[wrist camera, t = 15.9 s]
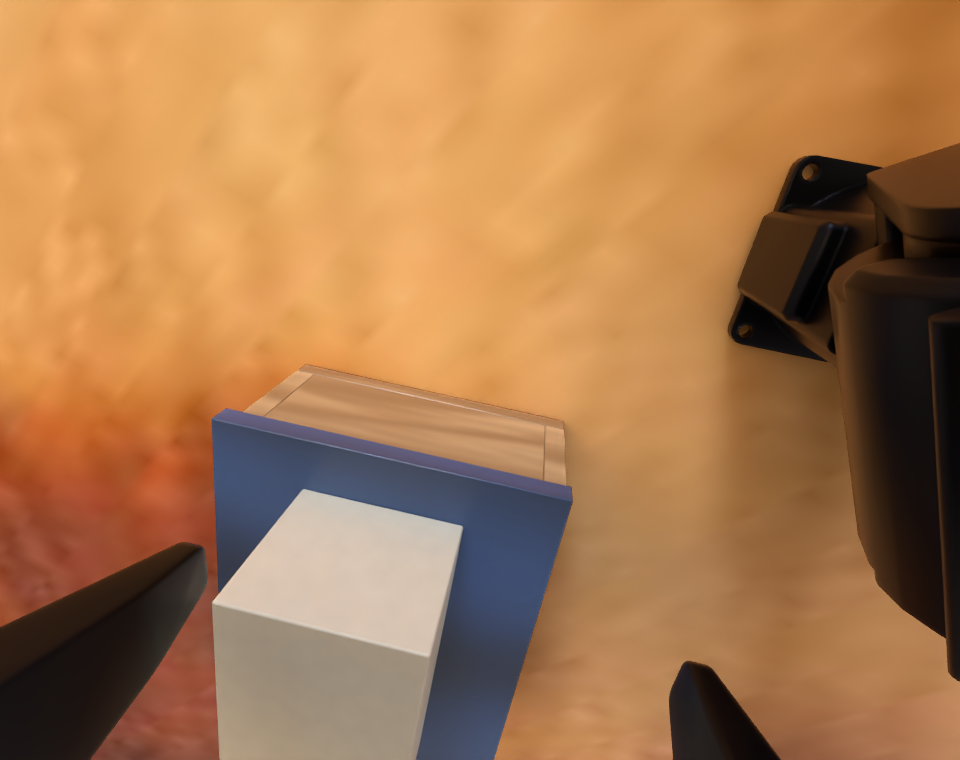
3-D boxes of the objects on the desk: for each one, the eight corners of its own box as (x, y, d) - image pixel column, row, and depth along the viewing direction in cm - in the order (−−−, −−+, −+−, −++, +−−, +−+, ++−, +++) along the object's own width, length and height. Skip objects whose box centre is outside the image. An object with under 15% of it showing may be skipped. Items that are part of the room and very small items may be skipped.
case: (302, 487, 16) (210, 602, 12) (463, 525, 16) (430, 657, 12) (293, 706, 21) (223, 850, 16) (420, 739, 20) (384, 895, 16)
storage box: (305, 363, 22) (226, 423, 17) (564, 420, 21) (567, 501, 16) (295, 590, 27) (234, 690, 22) (503, 642, 27) (490, 757, 22)
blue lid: (225, 407, 17) (210, 418, 16) (572, 486, 16) (573, 501, 15) (233, 691, 22) (222, 709, 21) (490, 758, 21) (488, 779, 21)
